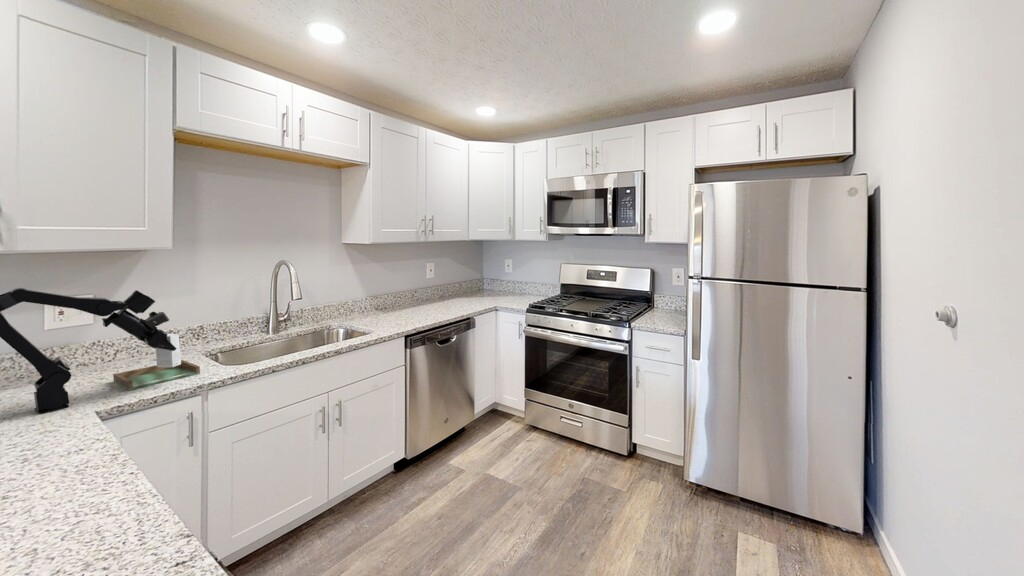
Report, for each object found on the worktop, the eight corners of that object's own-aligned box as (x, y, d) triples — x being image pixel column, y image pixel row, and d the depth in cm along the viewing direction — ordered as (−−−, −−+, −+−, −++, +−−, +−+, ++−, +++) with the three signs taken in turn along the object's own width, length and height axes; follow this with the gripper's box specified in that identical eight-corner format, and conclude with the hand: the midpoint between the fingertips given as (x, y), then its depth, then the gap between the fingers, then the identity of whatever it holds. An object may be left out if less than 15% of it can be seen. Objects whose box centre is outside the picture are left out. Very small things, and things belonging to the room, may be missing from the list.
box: (129, 390, 149) (128, 382, 149) (113, 381, 158) (113, 374, 157) (200, 373, 168) (199, 366, 167) (183, 366, 176) (182, 359, 176)
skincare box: (181, 364, 159) (179, 333, 157) (172, 367, 154) (170, 336, 153) (165, 364, 159) (163, 333, 157) (156, 367, 154) (153, 335, 153)
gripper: (157, 308, 145) (198, 334, 155) (143, 303, 156) (182, 327, 166) (129, 334, 140) (173, 359, 150) (117, 327, 151) (158, 350, 161)
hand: (172, 348), depth 157 cm, fingers closed on skincare box, 7 cm apart
